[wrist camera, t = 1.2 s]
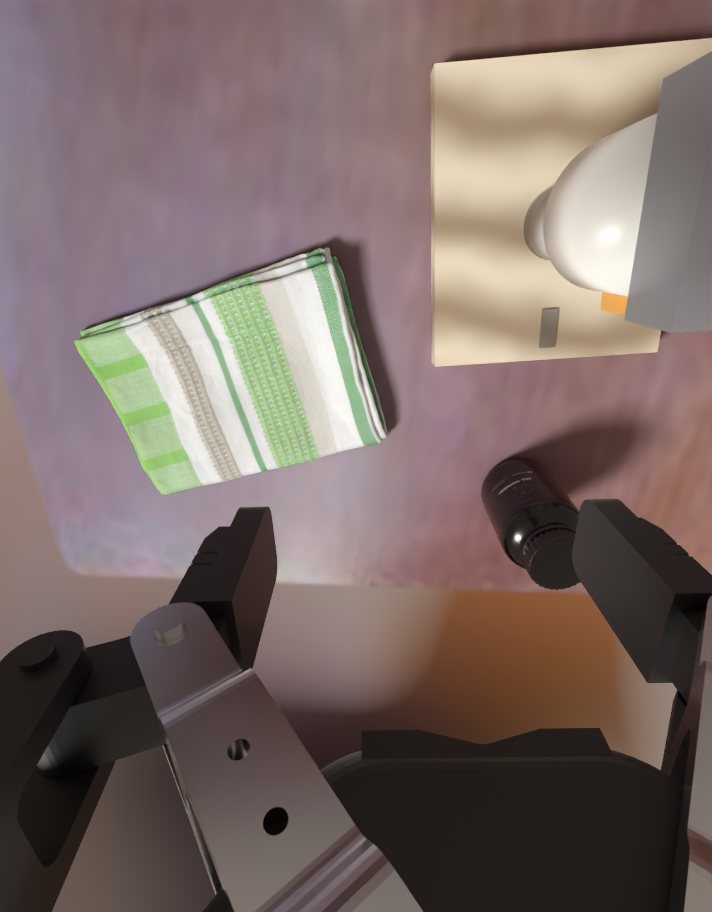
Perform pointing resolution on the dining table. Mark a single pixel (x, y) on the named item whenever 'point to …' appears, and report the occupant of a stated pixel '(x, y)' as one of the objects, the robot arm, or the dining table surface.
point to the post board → (527, 197)
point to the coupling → (644, 211)
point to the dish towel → (240, 375)
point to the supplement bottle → (533, 521)
